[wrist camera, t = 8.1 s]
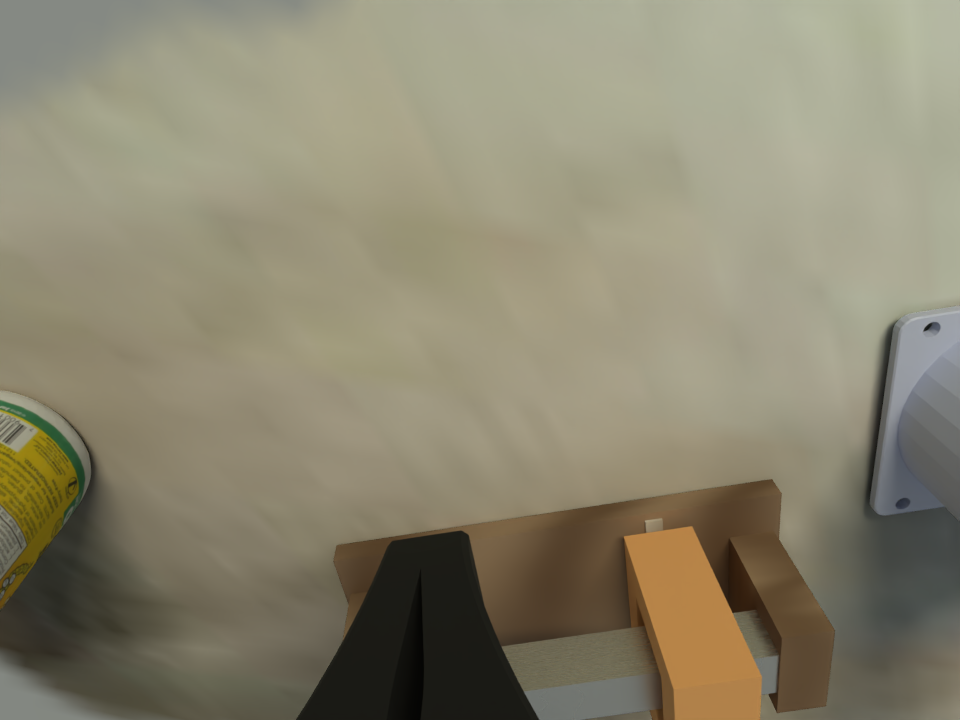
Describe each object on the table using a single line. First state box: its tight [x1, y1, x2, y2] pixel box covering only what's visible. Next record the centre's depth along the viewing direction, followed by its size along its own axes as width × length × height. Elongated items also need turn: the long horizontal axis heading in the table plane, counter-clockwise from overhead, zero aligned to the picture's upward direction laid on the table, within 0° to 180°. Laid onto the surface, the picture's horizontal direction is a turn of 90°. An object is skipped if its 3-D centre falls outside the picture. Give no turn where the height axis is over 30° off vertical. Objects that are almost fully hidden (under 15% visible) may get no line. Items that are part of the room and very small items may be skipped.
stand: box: [333, 479, 835, 713], centre depth 24 cm, size 16×7×5 cm, turn 99°
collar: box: [624, 526, 762, 720], centre depth 22 cm, size 2×6×6 cm, turn 9°
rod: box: [502, 610, 779, 720], centre depth 23 cm, size 16×2×2 cm, turn 99°
